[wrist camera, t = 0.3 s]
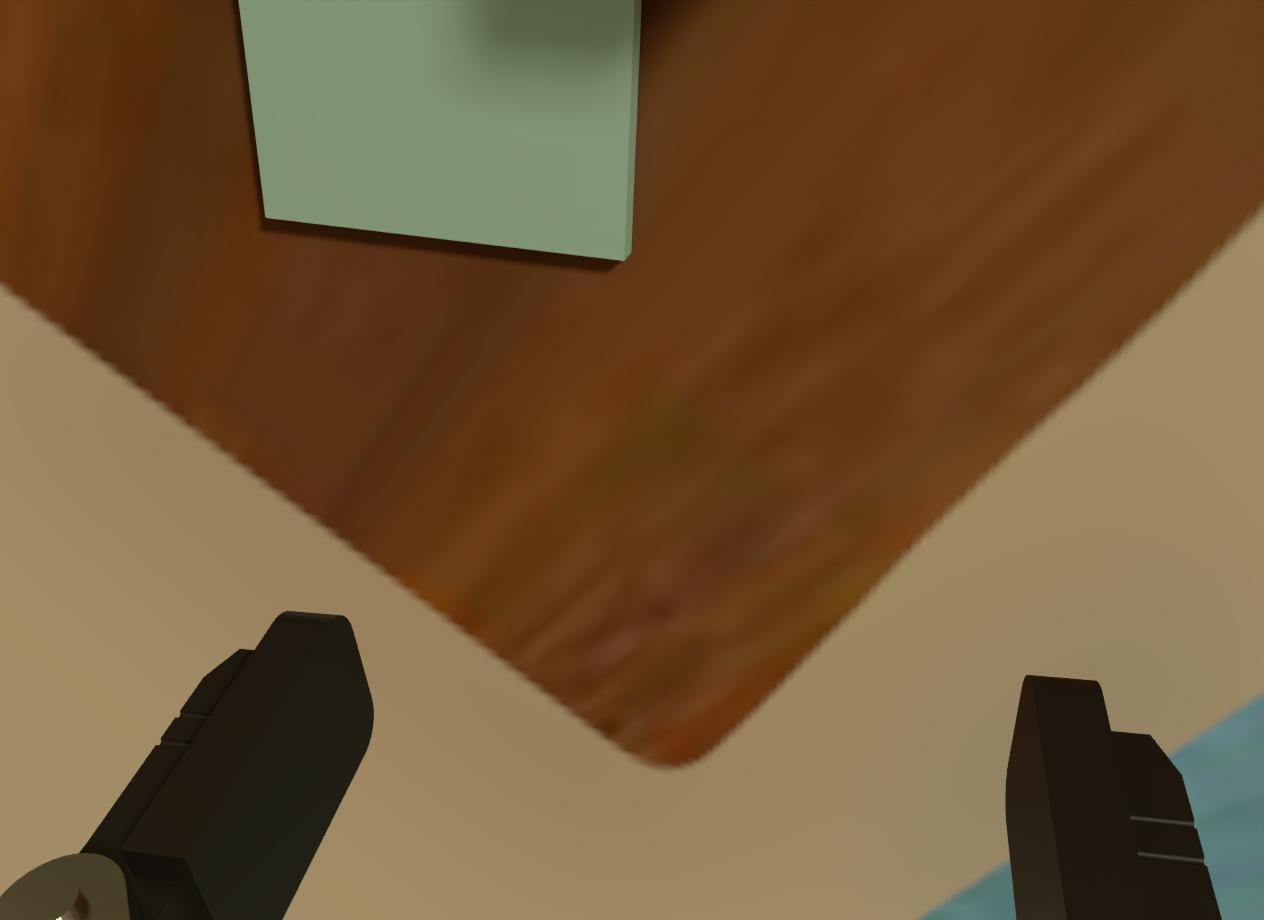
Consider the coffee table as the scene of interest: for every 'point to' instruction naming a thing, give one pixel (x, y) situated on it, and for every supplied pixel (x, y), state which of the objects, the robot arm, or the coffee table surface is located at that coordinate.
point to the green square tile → (450, 118)
